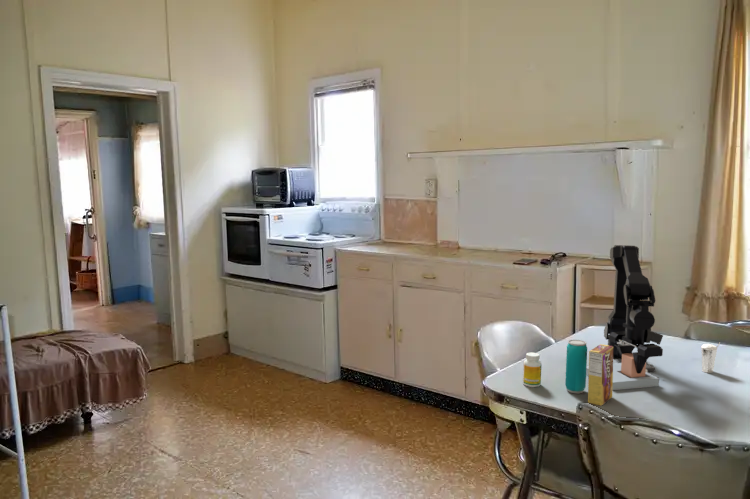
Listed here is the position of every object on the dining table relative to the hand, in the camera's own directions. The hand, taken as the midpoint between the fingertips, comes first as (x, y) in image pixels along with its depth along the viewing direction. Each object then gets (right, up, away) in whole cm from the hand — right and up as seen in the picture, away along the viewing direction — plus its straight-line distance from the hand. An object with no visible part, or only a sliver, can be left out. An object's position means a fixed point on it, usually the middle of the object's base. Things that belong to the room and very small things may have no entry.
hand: (633, 370), depth 189 cm
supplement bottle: (-32, -4, -2) cm, 33 cm away
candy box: (-16, -6, -15) cm, 23 cm away
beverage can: (-21, -5, -8) cm, 23 cm away
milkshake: (+29, -2, +9) cm, 30 cm away
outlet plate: (-4, -3, +2) cm, 5 cm away
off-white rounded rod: (+6, -3, +6) cm, 9 cm away
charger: (0, -1, 0) cm, 1 cm away
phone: (+7, -2, +14) cm, 16 cm away
